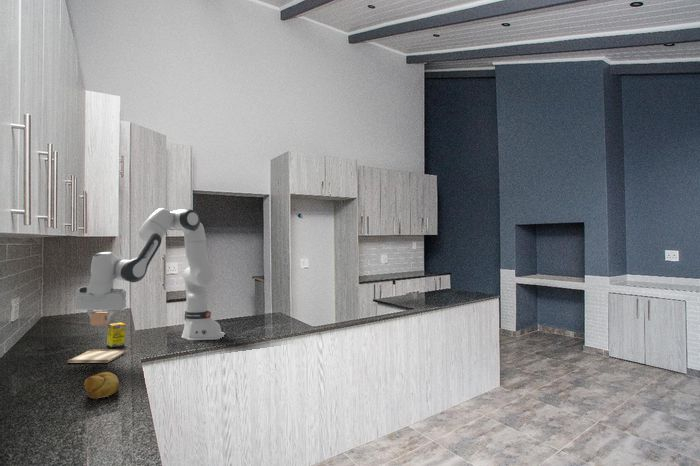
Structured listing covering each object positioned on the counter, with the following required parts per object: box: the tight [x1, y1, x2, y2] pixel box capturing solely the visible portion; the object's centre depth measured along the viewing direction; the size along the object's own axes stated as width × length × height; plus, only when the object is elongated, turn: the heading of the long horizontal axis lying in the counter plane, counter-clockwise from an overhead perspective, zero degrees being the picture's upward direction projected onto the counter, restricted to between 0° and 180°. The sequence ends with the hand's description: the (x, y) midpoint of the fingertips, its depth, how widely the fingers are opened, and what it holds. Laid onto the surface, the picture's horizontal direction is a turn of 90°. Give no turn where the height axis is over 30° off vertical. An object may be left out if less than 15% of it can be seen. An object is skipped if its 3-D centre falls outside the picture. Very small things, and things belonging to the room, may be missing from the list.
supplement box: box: [106, 322, 127, 349], centre depth 192 cm, size 6×6×11 cm
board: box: [67, 349, 127, 364], centre depth 172 cm, size 16×16×2 cm
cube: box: [90, 311, 110, 326], centre depth 172 cm, size 5×5×5 cm
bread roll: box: [83, 371, 120, 398], centre depth 134 cm, size 13×10×8 cm
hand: (100, 319), depth 173 cm, fingers closed on cube, 5 cm apart
